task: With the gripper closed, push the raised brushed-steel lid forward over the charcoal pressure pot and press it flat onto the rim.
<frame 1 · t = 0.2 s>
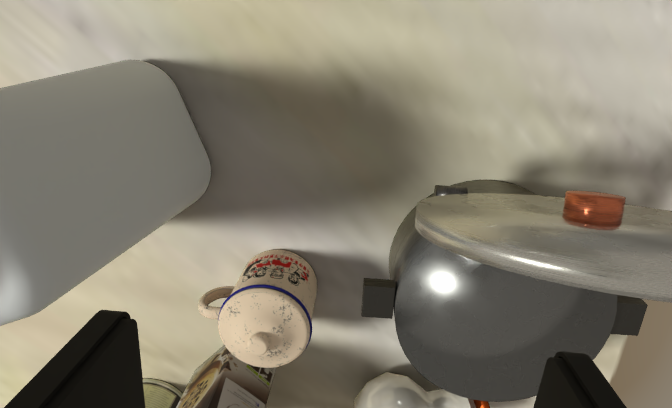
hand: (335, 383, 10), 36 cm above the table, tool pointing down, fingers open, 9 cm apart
pot: (476, 263, 49), on the table
potion bottle: (414, 383, 55), on the table
lid: (591, 217, 26), point 20 cm above the table, hinge at 100.0°
teacup with lid: (267, 280, 51), on the table
coffee box: (236, 364, 56), on the table
plastic bottle: (133, 144, 47), on the table
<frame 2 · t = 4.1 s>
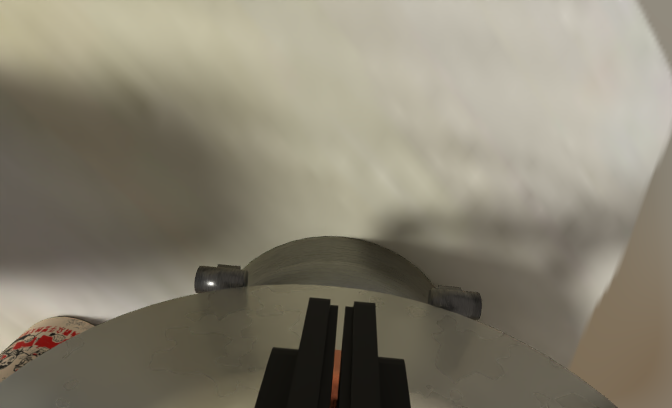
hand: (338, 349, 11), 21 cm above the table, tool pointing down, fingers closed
pot: (332, 344, 36), on the table
teacup with lid: (59, 354, 38), on the table
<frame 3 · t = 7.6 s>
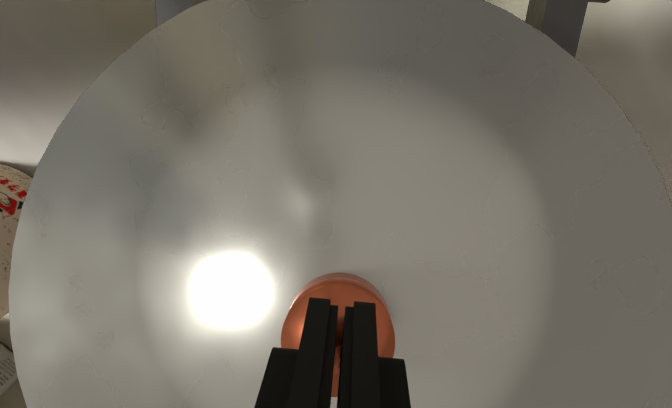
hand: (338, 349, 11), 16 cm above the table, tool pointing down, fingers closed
pot: (349, 194, 26), on the table
lid: (339, 324, 13), point 14 cm above the table, hinge at 15.5°, touching gripper
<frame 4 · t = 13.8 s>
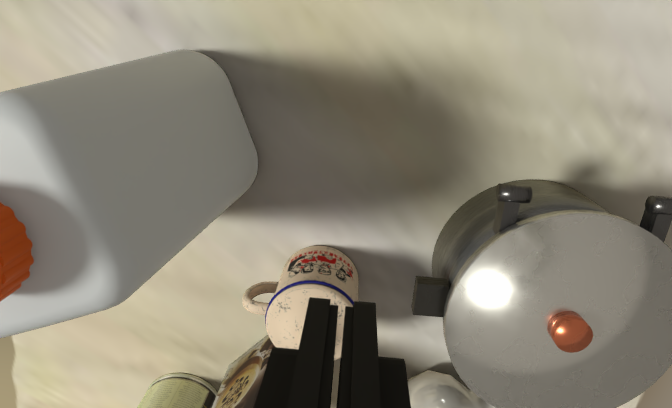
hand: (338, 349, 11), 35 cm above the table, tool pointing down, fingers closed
pot: (520, 263, 49), on the table
potion bottle: (453, 382, 55), on the table
coffee can: (185, 402, 58), on the table
lid: (566, 327, 38), point 12 cm above the table, hinge at 1.5°
teacup with lid: (307, 276, 51), on the table
coffee box: (270, 360, 55), on the table
plastic bottle: (179, 136, 46), on the table
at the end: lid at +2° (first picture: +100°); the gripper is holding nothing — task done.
